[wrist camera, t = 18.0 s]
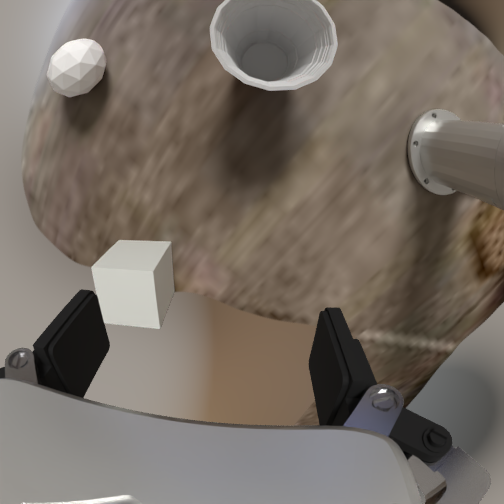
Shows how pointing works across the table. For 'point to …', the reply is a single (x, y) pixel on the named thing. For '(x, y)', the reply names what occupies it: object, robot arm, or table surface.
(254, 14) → the plastic cup
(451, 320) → the table surface
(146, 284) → the white angular block
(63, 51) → the geometric ball
